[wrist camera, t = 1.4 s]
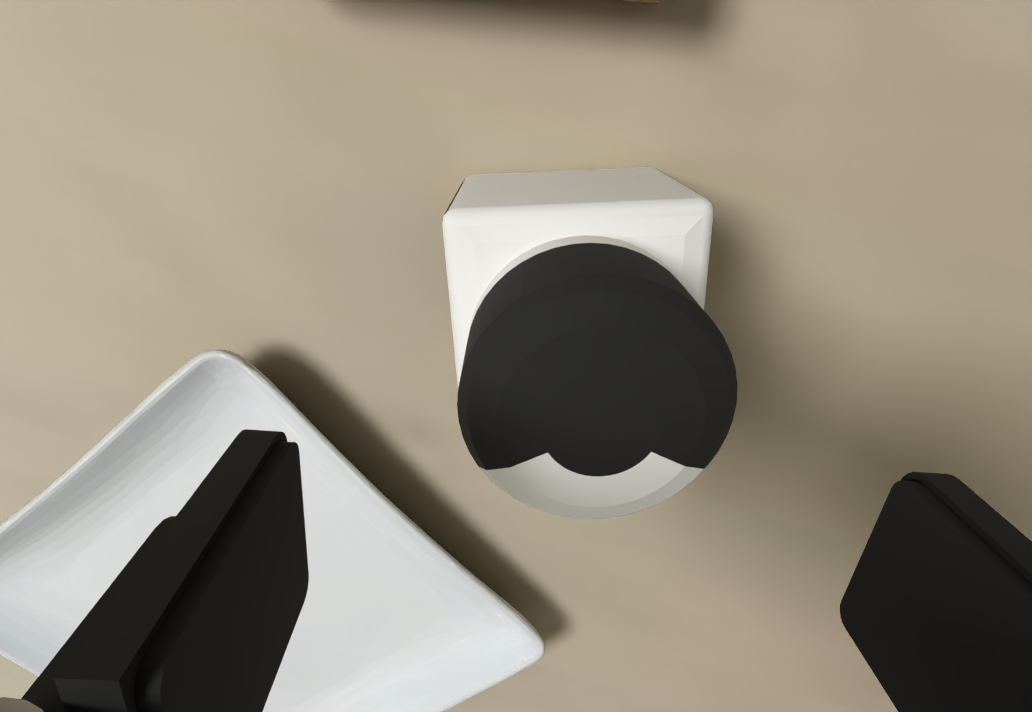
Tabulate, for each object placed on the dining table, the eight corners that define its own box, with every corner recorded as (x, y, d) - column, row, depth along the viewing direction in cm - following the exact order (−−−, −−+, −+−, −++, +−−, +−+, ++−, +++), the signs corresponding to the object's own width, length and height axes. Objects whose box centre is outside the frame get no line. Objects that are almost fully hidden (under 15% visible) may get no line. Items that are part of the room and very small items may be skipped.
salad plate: (554, 603, 31) (558, 660, 28) (279, 754, 36) (257, 816, 33) (251, 305, 24) (212, 338, 21) (-33, 548, 29) (-98, 602, 26)
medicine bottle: (462, 173, 21) (407, 264, 10) (657, 165, 21) (805, 247, 10) (476, 350, 24) (443, 563, 14) (647, 344, 24) (754, 554, 13)
